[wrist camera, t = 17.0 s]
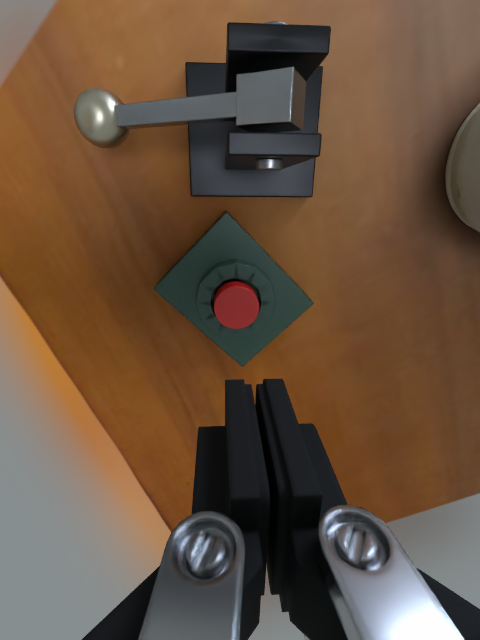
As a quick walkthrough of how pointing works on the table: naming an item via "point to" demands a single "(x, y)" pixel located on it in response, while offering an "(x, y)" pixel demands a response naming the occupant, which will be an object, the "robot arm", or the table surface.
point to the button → (236, 305)
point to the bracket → (258, 147)
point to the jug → (465, 171)
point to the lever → (199, 108)
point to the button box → (225, 266)
